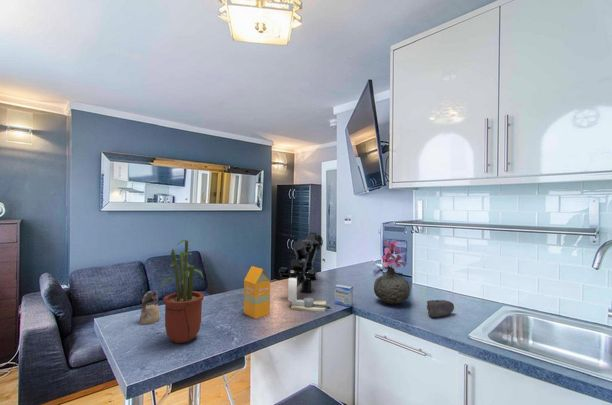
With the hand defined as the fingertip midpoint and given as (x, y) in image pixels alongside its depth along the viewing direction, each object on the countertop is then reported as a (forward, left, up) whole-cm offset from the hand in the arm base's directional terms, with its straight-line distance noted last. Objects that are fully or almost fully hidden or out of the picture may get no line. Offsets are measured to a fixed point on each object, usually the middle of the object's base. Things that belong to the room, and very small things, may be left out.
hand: (294, 289), depth 139 cm
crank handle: (+4, +7, -6) cm, 10 cm away
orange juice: (+14, -14, -7) cm, 21 cm away
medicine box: (-4, +24, -7) cm, 25 cm away
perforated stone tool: (+4, +66, -7) cm, 66 cm away
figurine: (+28, -54, -7) cm, 62 cm away
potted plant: (+40, -35, -7) cm, 54 cm away
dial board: (+1, +9, -7) cm, 11 cm away
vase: (-9, +47, -7) cm, 48 cm away
